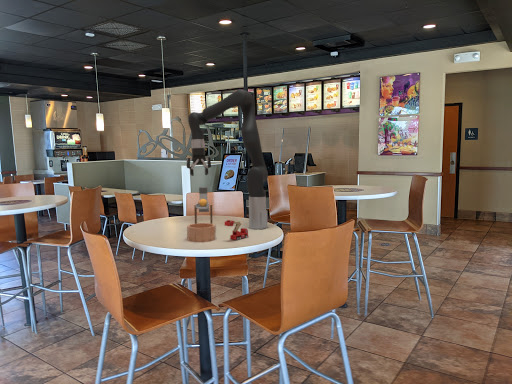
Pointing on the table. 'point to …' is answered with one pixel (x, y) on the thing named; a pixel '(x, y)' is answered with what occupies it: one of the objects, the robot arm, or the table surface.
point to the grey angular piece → (202, 196)
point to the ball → (202, 202)
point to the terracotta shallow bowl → (201, 232)
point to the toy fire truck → (235, 232)
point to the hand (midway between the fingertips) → (199, 175)
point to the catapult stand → (210, 214)
